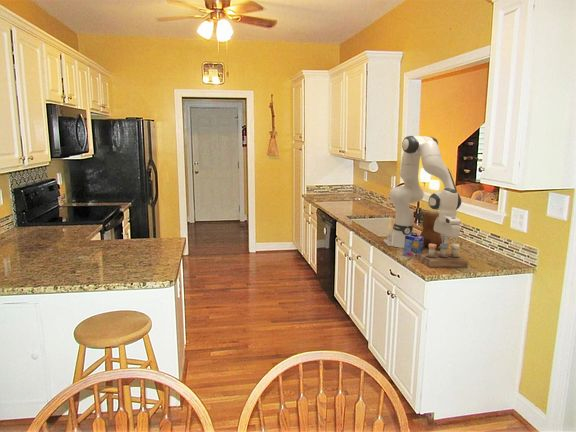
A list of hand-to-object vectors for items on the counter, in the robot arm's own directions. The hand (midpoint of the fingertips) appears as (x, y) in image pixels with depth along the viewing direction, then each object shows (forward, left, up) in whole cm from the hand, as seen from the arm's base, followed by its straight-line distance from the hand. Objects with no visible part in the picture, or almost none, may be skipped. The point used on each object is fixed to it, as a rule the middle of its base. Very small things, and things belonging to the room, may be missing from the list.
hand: (444, 242), depth 239 cm
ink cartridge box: (-17, -9, -12) cm, 23 cm away
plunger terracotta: (0, -7, -8) cm, 11 cm away
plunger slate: (0, 0, -8) cm, 8 cm away
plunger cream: (0, +7, -8) cm, 11 cm away
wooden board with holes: (0, 0, -12) cm, 12 cm away
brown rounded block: (-36, +13, -12) cm, 40 cm away
